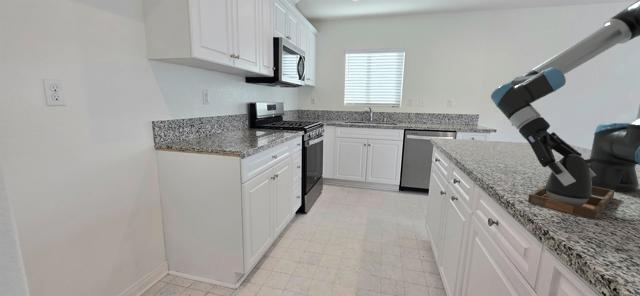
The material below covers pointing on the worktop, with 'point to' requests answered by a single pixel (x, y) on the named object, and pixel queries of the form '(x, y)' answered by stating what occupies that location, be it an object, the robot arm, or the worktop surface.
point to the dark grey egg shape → (577, 190)
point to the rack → (587, 210)
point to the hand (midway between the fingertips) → (581, 180)
